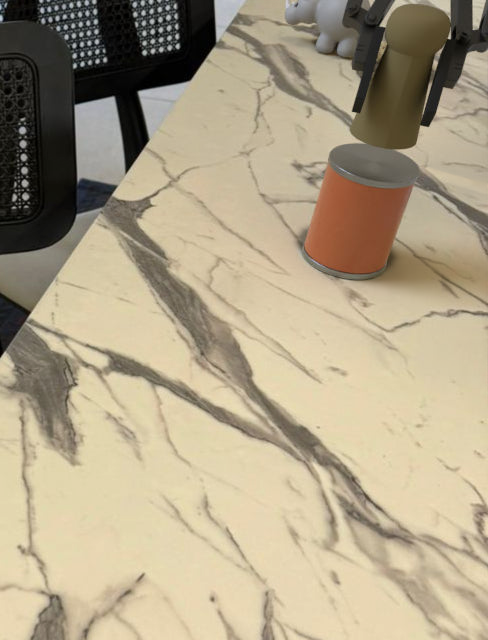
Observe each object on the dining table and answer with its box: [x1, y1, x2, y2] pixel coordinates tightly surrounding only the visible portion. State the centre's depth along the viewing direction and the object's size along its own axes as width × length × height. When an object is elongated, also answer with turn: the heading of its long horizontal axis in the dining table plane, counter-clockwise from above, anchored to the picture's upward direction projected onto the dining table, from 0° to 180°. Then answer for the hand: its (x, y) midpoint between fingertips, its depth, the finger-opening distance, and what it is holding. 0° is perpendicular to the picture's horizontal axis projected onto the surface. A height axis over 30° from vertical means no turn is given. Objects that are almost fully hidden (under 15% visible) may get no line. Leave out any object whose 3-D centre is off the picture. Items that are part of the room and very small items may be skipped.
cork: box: [348, 3, 451, 151], centre depth 89 cm, size 6×6×11 cm
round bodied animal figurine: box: [284, 0, 371, 58], centre depth 144 cm, size 7×12×8 cm, turn 62°
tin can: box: [301, 142, 421, 281], centre depth 98 cm, size 8×8×10 cm
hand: (392, 112), depth 88 cm, fingers closed on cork, 5 cm apart
